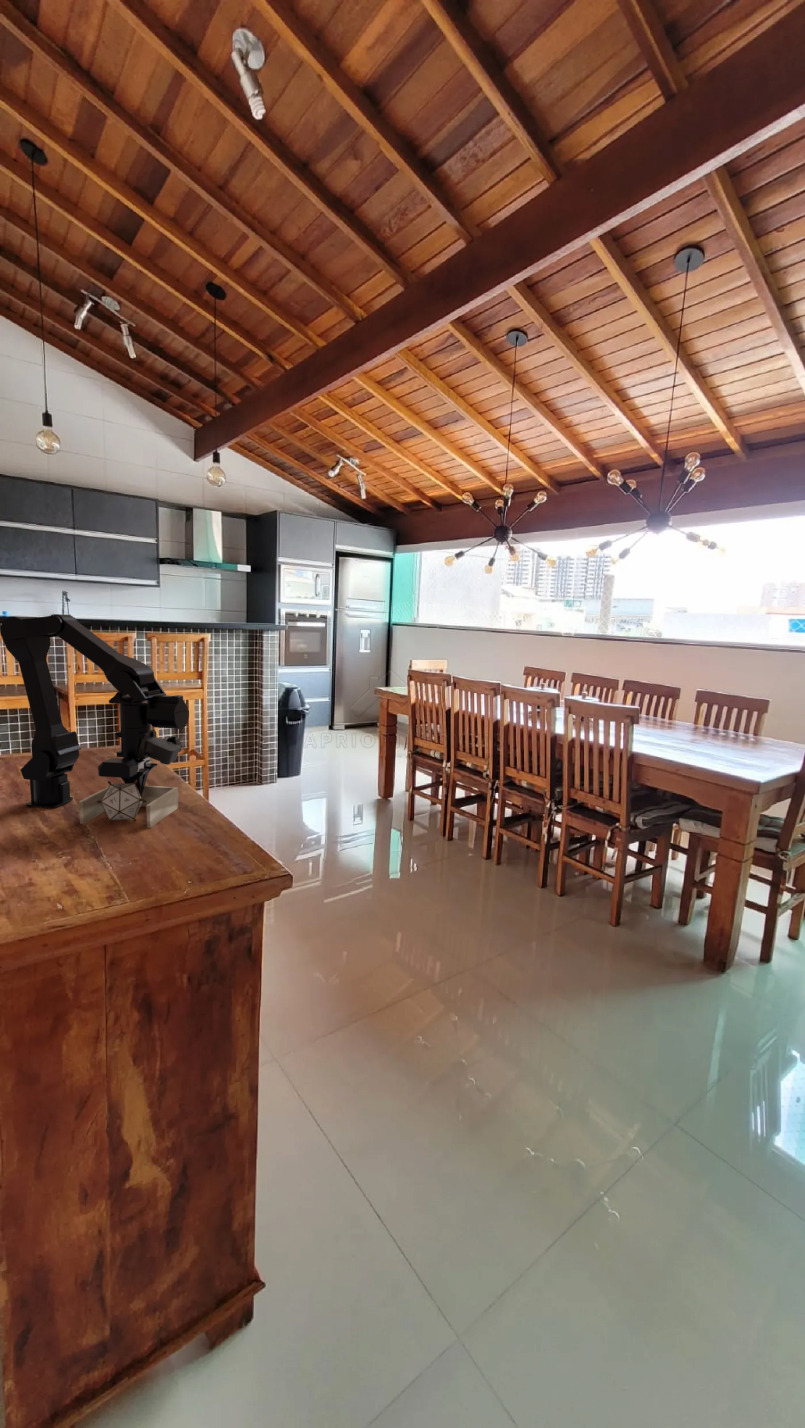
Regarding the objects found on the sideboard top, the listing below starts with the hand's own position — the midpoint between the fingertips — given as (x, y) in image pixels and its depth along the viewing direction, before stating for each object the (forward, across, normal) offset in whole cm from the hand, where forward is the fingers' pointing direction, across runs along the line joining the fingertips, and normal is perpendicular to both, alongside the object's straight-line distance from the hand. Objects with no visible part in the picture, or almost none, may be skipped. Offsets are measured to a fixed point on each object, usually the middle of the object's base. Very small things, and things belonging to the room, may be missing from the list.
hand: (137, 799), depth 121 cm
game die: (+3, -6, 0) cm, 7 cm away
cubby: (+2, -3, 0) cm, 4 cm away
